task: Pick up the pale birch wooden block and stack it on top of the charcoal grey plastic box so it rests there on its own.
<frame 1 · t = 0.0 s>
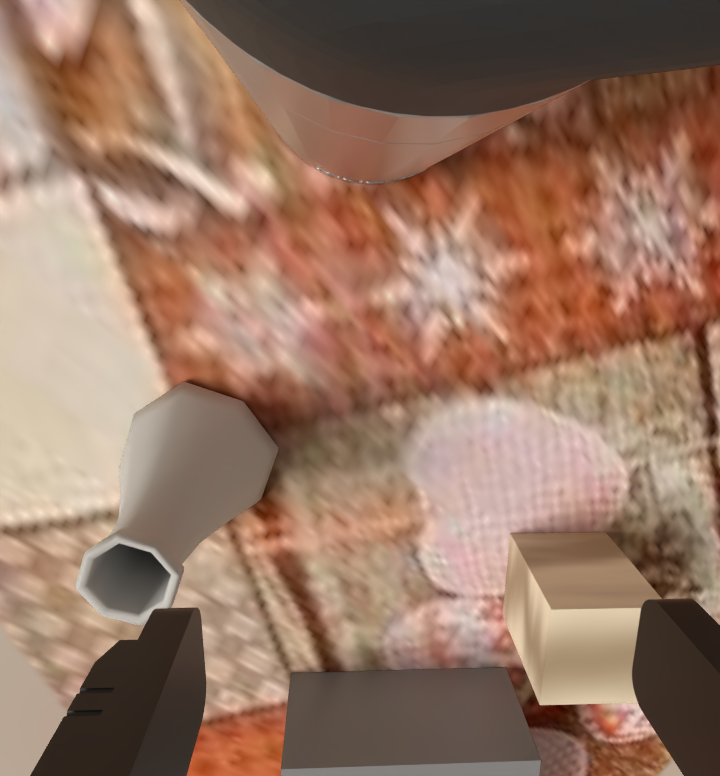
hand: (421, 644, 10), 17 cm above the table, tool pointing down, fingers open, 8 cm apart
birch block: (552, 573, 30), on the table
flask: (201, 453, 28), on the table
grey box: (396, 749, 34), on the table
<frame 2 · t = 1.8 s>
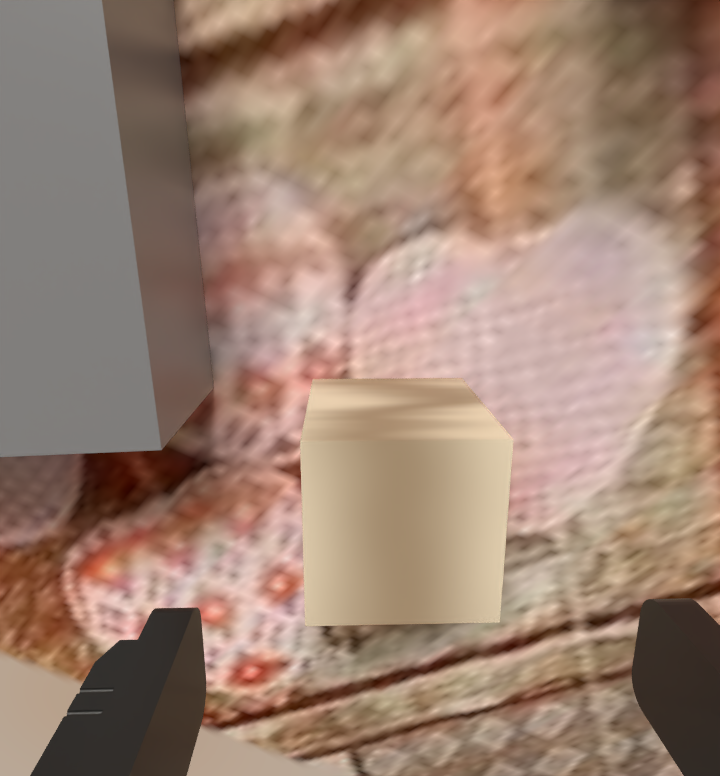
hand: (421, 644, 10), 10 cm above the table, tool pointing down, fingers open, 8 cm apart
birch block: (386, 448, 20), on the table
grey box: (0, 205, 18), on the table
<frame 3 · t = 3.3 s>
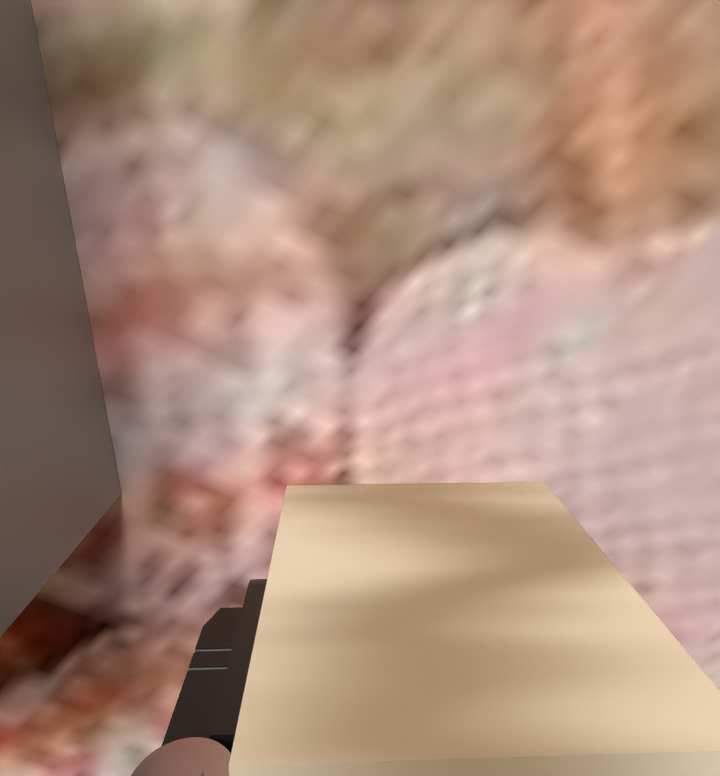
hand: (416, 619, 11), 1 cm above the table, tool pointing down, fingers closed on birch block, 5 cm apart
birch block: (413, 596, 12), on the table, touching gripper
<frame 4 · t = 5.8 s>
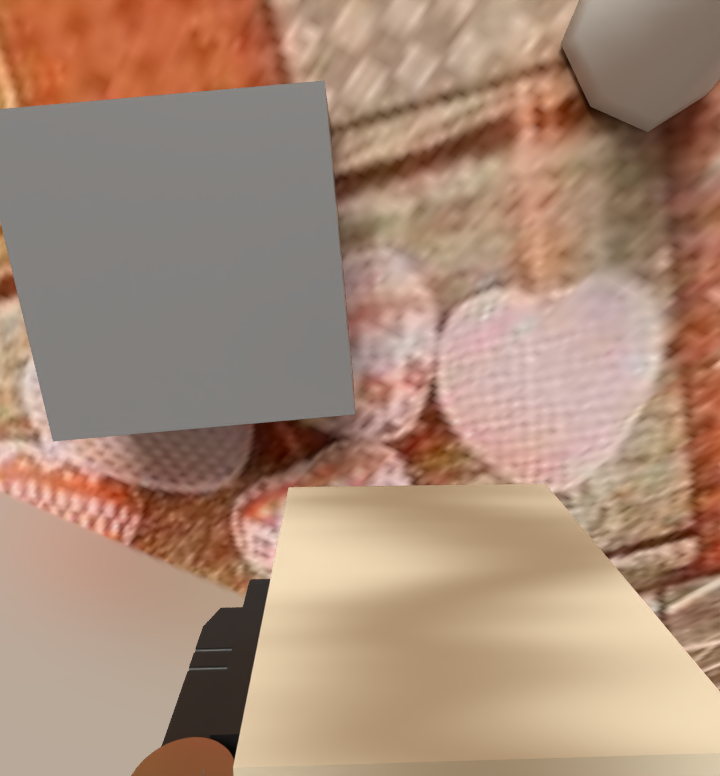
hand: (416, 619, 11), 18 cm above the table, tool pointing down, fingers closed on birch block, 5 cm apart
birch block: (414, 598, 12), point 17 cm above the table, touching gripper
flask: (644, 38, 25), on the table
grey box: (214, 265, 27), on the table
when the fingers open (8 cm above the table, at t = 8.1 s): birch block drops 2 cm, resting on grey box.
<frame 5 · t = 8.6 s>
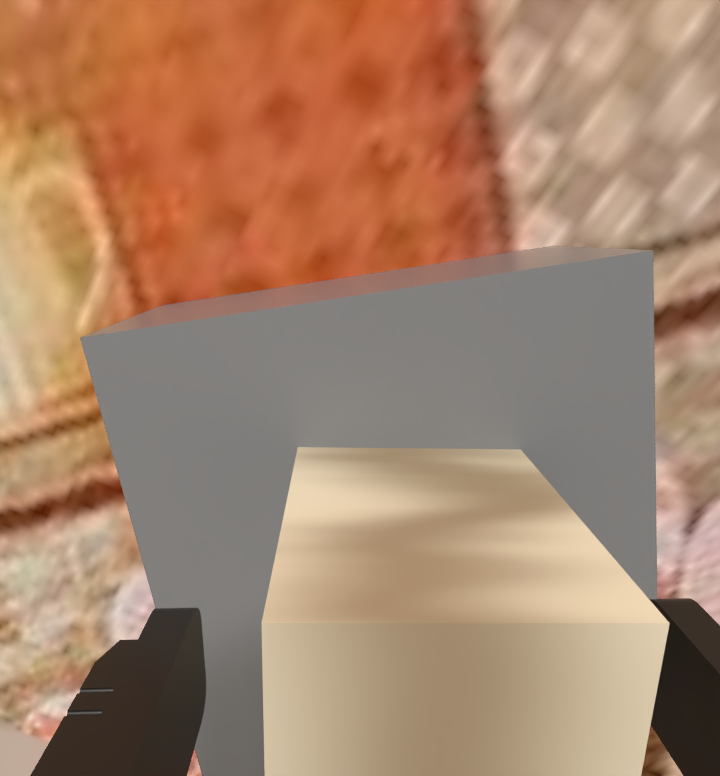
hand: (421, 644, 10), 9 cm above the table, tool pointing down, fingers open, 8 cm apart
birch block: (405, 548, 13), point 6 cm above the table, touching grey box
grey box: (383, 454, 19), on the table, touching birch block
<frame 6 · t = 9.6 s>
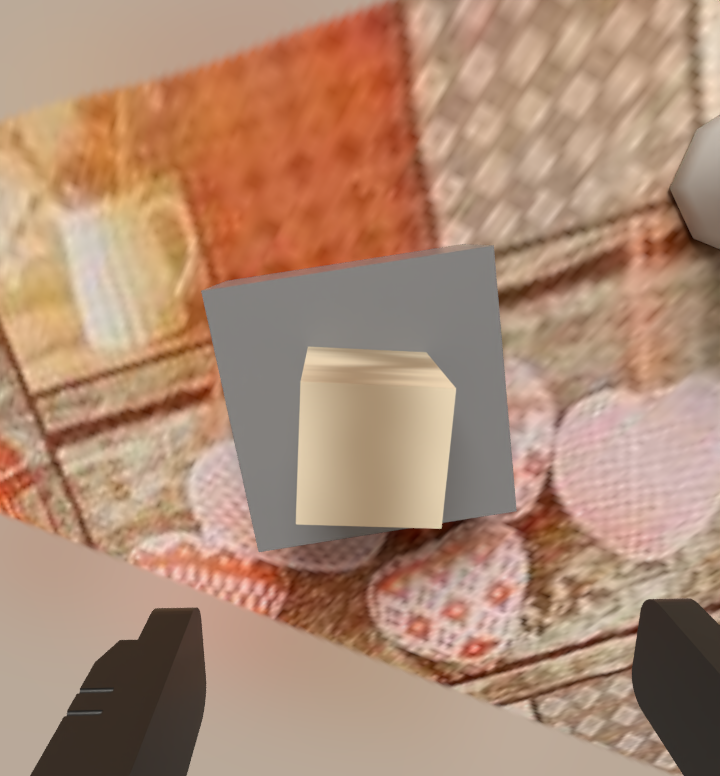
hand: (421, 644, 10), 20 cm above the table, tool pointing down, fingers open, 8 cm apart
birch block: (363, 406, 25), point 6 cm above the table, touching grey box
grey box: (361, 375, 30), on the table, touching birch block
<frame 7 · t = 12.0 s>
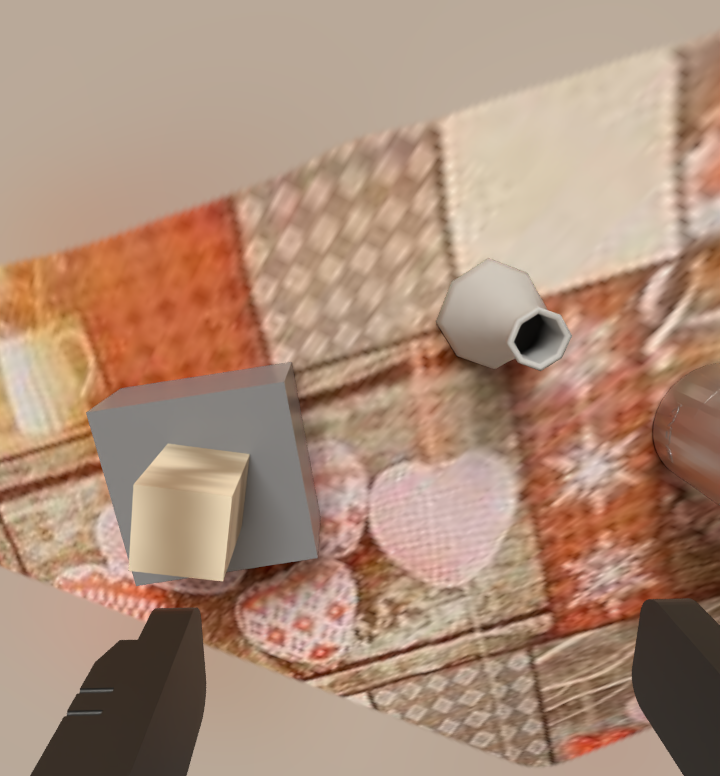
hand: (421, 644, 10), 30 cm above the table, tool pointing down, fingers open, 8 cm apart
birch block: (205, 486, 36), point 6 cm above the table
flask: (489, 314, 39), on the table
grey box: (225, 453, 41), on the table
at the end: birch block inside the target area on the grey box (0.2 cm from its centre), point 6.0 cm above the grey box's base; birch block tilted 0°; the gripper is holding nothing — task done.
